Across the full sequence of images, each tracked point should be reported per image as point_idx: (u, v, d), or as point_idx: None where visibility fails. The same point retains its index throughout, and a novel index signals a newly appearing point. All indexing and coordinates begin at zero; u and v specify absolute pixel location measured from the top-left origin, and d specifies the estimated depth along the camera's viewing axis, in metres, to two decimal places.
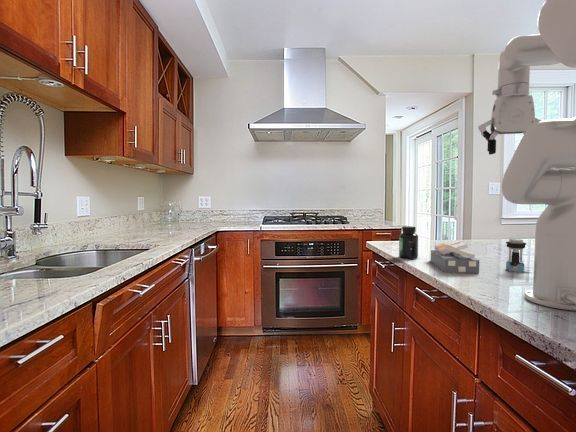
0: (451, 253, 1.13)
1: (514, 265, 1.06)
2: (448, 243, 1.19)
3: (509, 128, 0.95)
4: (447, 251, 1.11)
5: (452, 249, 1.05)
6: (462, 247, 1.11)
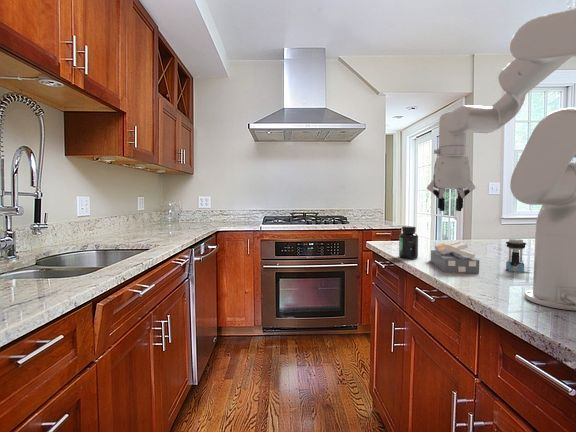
0: (451, 253, 1.13)
1: (514, 265, 1.06)
2: (448, 243, 1.19)
3: (448, 185, 1.04)
4: (447, 251, 1.11)
5: (452, 249, 1.05)
6: (462, 247, 1.11)
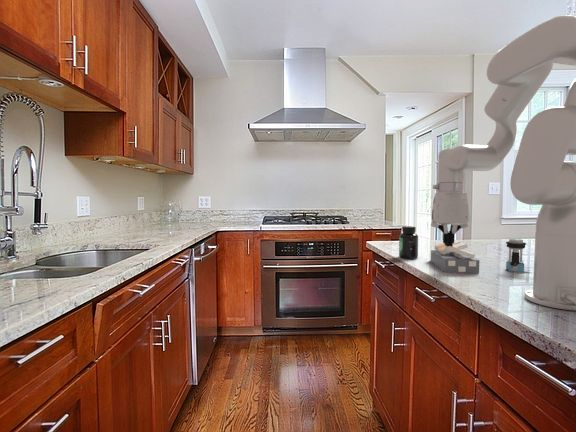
0: (451, 253, 1.13)
1: (514, 265, 1.06)
2: None
3: (446, 221, 1.05)
4: (447, 251, 1.11)
5: (452, 249, 1.05)
6: (462, 247, 1.11)
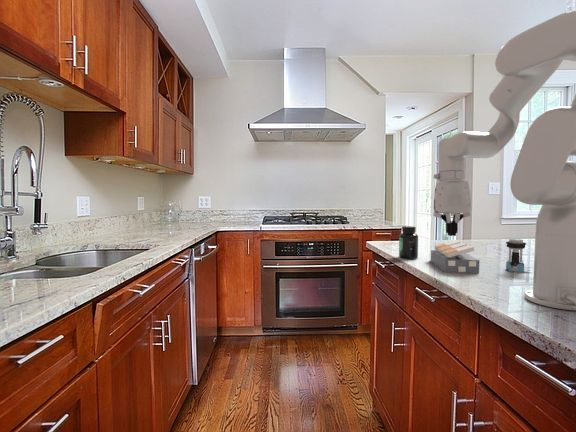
0: None
1: (514, 265, 1.06)
2: (448, 243, 1.19)
3: (449, 210, 1.04)
4: None
5: (451, 254, 1.06)
6: None
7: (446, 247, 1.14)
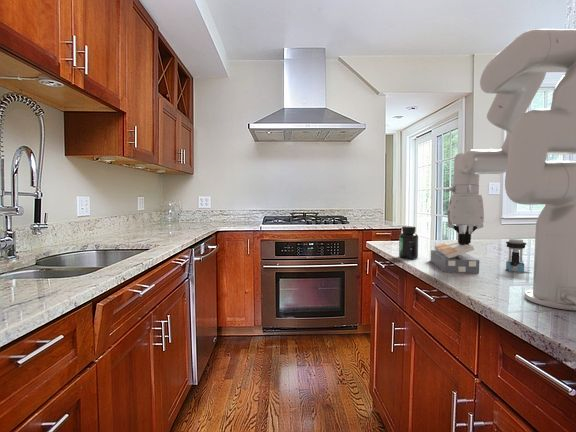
0: None
1: (514, 265, 1.06)
2: (448, 243, 1.19)
3: (462, 222, 1.10)
4: None
5: (451, 255, 1.06)
6: None
7: (446, 247, 1.14)
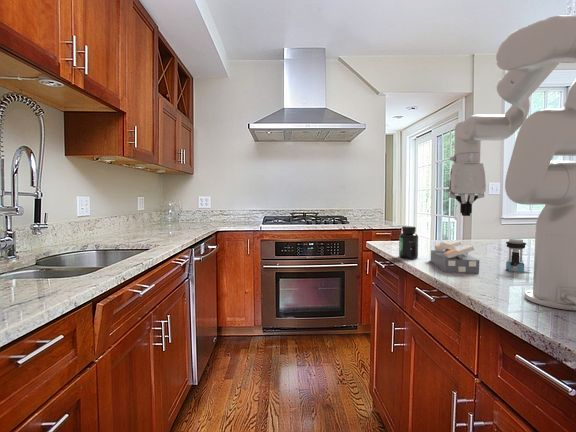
0: None
1: (514, 265, 1.06)
2: (448, 243, 1.19)
3: (464, 191, 1.08)
4: (448, 247, 1.11)
5: (451, 255, 1.06)
6: None
7: (448, 244, 1.13)
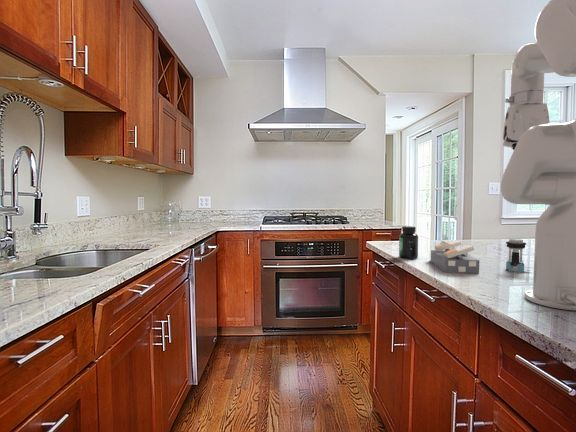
0: None
1: (514, 265, 1.06)
2: None
3: None
4: (448, 246, 1.11)
5: (451, 255, 1.06)
6: None
7: None
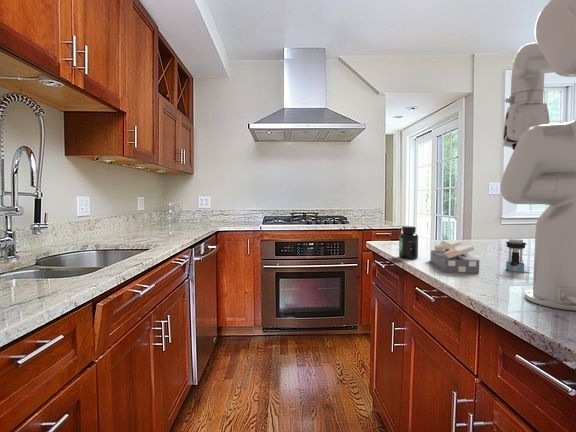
0: None
1: (514, 265, 1.06)
2: None
3: None
4: (448, 246, 1.11)
5: (451, 255, 1.06)
6: None
7: None
